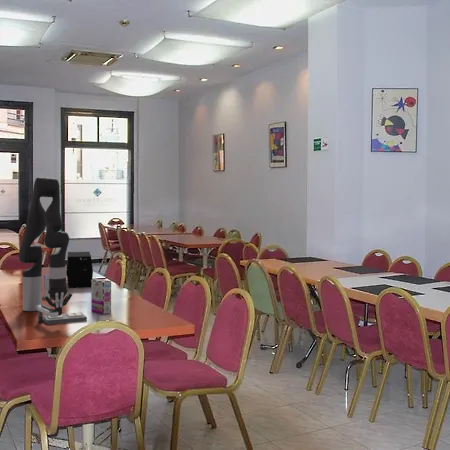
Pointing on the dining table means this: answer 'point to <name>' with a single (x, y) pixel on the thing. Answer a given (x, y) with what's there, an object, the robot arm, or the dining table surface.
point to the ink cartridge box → (46, 284)
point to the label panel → (65, 318)
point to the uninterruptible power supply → (79, 270)
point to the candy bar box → (101, 296)
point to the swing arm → (47, 310)
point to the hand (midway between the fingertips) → (58, 315)
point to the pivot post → (40, 317)
